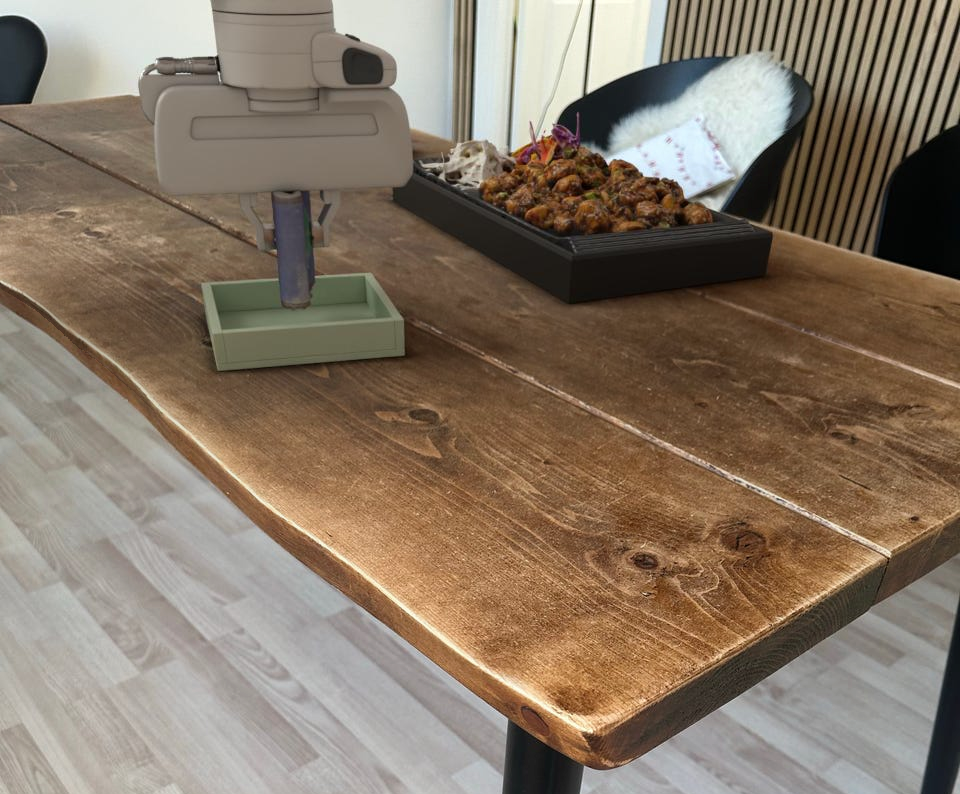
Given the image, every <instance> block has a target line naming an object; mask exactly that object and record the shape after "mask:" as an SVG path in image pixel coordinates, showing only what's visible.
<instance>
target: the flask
mask: <svg viewBox="0 0 960 794" xmlns="http://www.w3.org/2000/svg"><path fill="white" fill-rule="evenodd" d="M270 197H271V198H270V199H271V208H272V221H273V227H274V228H275V241H276V249H277V250H276V259H277V274H278V278H279V279H278V280H279V285H280V298H281V303H282V304H281V305H282V306H283V307H284V309H285V308H286V310H291V311H294V310H296V309H302V310H303V311H304V310H305V309H306V308H307V307H308V306H310V305H311V303H310V300H311V298H312V297H313V294H311V292H310V291H311V290H313V289H312V287H313V286H314V284H315V282H316V281H315V276H316V269H315V268H316V267H315V256H314V255H315V254H314V248H312V246H311V244H310V238H309V235H310V231H309V226H308V222H311V221H312V203H311V191H290V192H281V191H275V192H270ZM289 304H291V305H292V306H294V307H295V308H296V309H294V308H292V307H291V306H290V305H289Z"/></svg>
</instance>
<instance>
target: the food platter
mask: <svg viewBox="0 0 960 794" xmlns="http://www.w3.org/2000/svg"><path fill="white" fill-rule="evenodd" d="M576 117H577V118H576V121H577V123H576V133H575V135H574V134H573V133H572V131H570V130H569V128H567V127H566V126H564V125H561V124H556V123H551V125H552V127H553V128H552V129H551V130H550V133H551V134H550V135H546V136H545V135H544V134H545V133H546V129H544V131H543V134H541V139H539V140H536V139H537V138H536V135H535V130H534V126H533V122H532V121H531V120H529V121H528V123H529V135H530V139H531V142H529V143H526V144H525V145H523V146H521V147H520V148H517V149H516V150H514V151H511V152H510V147H509V145H505V147H501V148H498V149H497V146H496V145H495V144H493V143H492V142H489V140H488V139H482V140H478V139H476V140H475V139H474V140H468V141H465V142H462V143H461V142H457V144H456V147H455V148H451V149H449V151H450V153H448V154H447V156H444V153H443V151H441V156H435V157H418V158H417V157H415V158H413V174H412V176H411V178H410V179H409V181H408V182H407V184H406V185H405V186H403V187H392V202H393V203H394V204H397V205H398V206H400V207H402V208H403V209H405V210H407V211H409V212H411V213H412V214H413V215H416V216H417V217H419V218H421V219H423V220H424V221H426V222H428V224H431V225H433V226H434V227H436V228H438V229H440V230H441V231H443V232H444V233H446V234H448V235H450V236H452V237H453V238H454V239H457V240H458V241H460V242H462V243H464V244H465V245H467V246H469V247H470V248H473V249H474V250H476V251H477V252H479V253H481V254H483V255H484V256H486V257H488V258H490V259H491V260H493V261H495V262H496V263H498V264H500V265H502V266H503V267H505V268H507V269H508V270H510V271H512V272H514V273H515V274H517V275H519V276H520V277H522V278H524V279H525V280H527V281H529V282H530V283H532V284H534V285H536V286H538V287H539V288H541V289H542V290H545V291H546V292H548V293H550V294H551V295H553V296H555V297H556V298H558V299H560V300H562V301H564V302H565V303H567V304H573V303H581V302H588V301H595V300H601V299H610V298H616V297H622V296H623V297H624V296H631V295H636V294H637V295H638V294H644V293H645V294H646V293H650V292H651V293H653V292H658V291H666V290H673V289H674V290H675V289H680V288H687V287H694V286H702V285H709V284H717V283H722V282H723V283H724V282H731V281H739V280H745V279H752V278H759V277H766V275H767V269H768V265H769V259H770V255H771V248H772V244H773V238H774V233H773V231H771V230H768V229H767V228H763V227H760V226H758V225H755V224H753V223H750V222H749V220H748V219H746V218H743V219H742V218H741V219H739V218H735V217H733V216H730V215H728V214H725V213H723V212H720V211H717V210H714V209H711V208H709V207H707V206H706V205H705V204H704V203H702V202H701V201H699V200H697V201H696V200H695V201H694V202H692V201H690V200H688V199H687V198H685V194H684V189H683V187H682V186H681V185H680V184H679V182H678V181H676V180H675V179H674V178H672V179H670V178H667V177H662V178H660V177H657V176H646V175H645V176H644V173H643V172H642V171H639V169H638V167H636V166H635V165H634V163H631V162H629V161H626V160H624V159H621V158H619V159H616V158H613V159H611V161H609V164H608V163H607V160H606V159H604V157H603V156H602V155H601V154H600V153H599V152H592V151H591V150H589V149H587V148H586V147H585V146H582V144H581V140H582V137H581V131H580V112H579V111H577V113H576ZM674 180H675V181H674Z"/></svg>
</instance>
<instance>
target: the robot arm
mask: <svg viewBox="0 0 960 794" xmlns="http://www.w3.org/2000/svg"><path fill="white" fill-rule="evenodd" d="M209 1H210V6H211V13H212V21H213V29H214V38H215V46H216V53H217V54H216V55H215V56H214V55H213V56H212V55H211V56H209V55H208V56H191V57H181V58H178V57H174V56H160V57H156V58H155V62H154V63H150V64H148V65H147V66H146V67H144V69H142V71H141V72H140V74H139V77H138V82H137V85H138V86H137V87H138V94H139V99H140V105H141V109H142V112H143V115H144V117H145V118H146V119H147V120H148V122H150V124H152V125H153V140H154V142H153V143H154V156H155V167H156V174H157V175H156V176H157V181H158V184H159V186H160V187H161V188H162V189H163V190H164V192H166V193H167V194H168V195H169V196H172V197H185V196H186V197H189V196H213V195H235V194H236V195H237V201H238V204H239V207H240V209H241V210H242V212H243V213H244V215H245V217H247V219H248V221H249V222H250V224H251V225H252V227H253V228H254V230H255V231H254V232H255V240H256V246H257V250H258V251H259V252H265V251H277V249H276V239H275V227H274V223H271V222H270V223H263V222H262V221H261V219H260V217H259V215H258V214H257V213H256V211H255V210H254V208H258V206H259V201H258V194H261V193H263V194H265V193H271V192H275V191H281V192H290V191H310V192H311V191H314V192H315V191H319V198H320V199H321V201H322V202H323V204H324V205H323V207H322V209H321V212H320V214H319V217H317V218H318V219H317V220H311V222H308V226H309V231H310V235H309V238H310V244H311V246H312V248H313V249H317V248H318V249H319V248H330V246H331V239H330V227H331V226H332V223H333V221H334V219H335V217H336V215H337V212H338V211H339V209H340V206H341V204H342V202H341V200H342V199H341V190H356V189H357V190H360V189H384V188H385V189H386V188H388V189H389V188H393V187H403V186H405V185H406V184H407V182H408V181H409V179H410V178H411V176H412V174H413V159H414V157H413V140H412V141H411V138H412V134H411V127H410V121H409V120H410V119H409V114H408V110H407V106H406V105H405V102H404V100H403V99H402V97H401V95H400V94H398V92H397V91H395V90H394V89H392V88H391V87H393V85H395V83H396V81H397V78H398V77H397V76H398V66H397V61H396V59H395V57H394V56H393V55H392V54H391V53H389V52H388V51H386V50H385V49H383V48H381V47H378V46H376V45H374V44H371V43H368V42H365V41H362V40H361V38H360V37H357V36H355V35H353V34H349V33H345V34H342V33H340V32H338V31H337V28H336V27H335V16H334V15H335V13H334V4H333V0H209ZM154 71H156V72H157V74H156V73H154V74H151V72H154Z"/></svg>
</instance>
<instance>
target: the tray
mask: <svg viewBox="0 0 960 794" xmlns="http://www.w3.org/2000/svg"><path fill="white" fill-rule="evenodd" d="M278 279H279V277H275V278H274V277H273V278H257V279H242V280H226V281H211V282H210V281H209V282H201V283H200V284H201V291H202V298H203V306H204V313H205V318H206V323H207V328H208V332H209V336H210V343H211V346H212V350H213V356H214V361H215V365H216V369H217V372H224V371H234V370H247V369H258V368H261V369H262V368H269V367H270V368H271V367H284V366H285V367H286V366H295V365H296V366H297V365H307V364H318V363H319V364H320V363H331V362H343V361H356V360H369V359H381V358H391V357H392V358H393V357H403V356H405V355H406V351H405V347H406V346H405V319H404V318H403V317H402V315H401V314H400V311H398V309H397V308H396V306H395V305H394V304H393V302H392V300H391V299H390V297H389V296H388V295H387V293H386V292H385V290H384V289H383V288H382V286H381V284H380V283H379V282H378V280H377V278H376V277H375V276H374V274H373V273H372V272H359V273H358V272H357V273H355V272H354V273H341V274H339V273H338V274H325V275H324V274H323V275H315V281H316V282H315V284H314V286H313V287H312V289H313V290H311V291H310V292H311V294H313V297H312V298H311V300H310V303H311V305H310V306H308V307H307V308H306V309H305V310H304V311H303V310H302V309H296V308H295V307H294V306H292V305H291V304H289V305H290V306H291V307H292V308H294V309H296V310H294V311H291V310H286V308H285V309H284V307H283V306H282V305H281V304H282V303H281V298H280V285H279V280H278Z"/></svg>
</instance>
